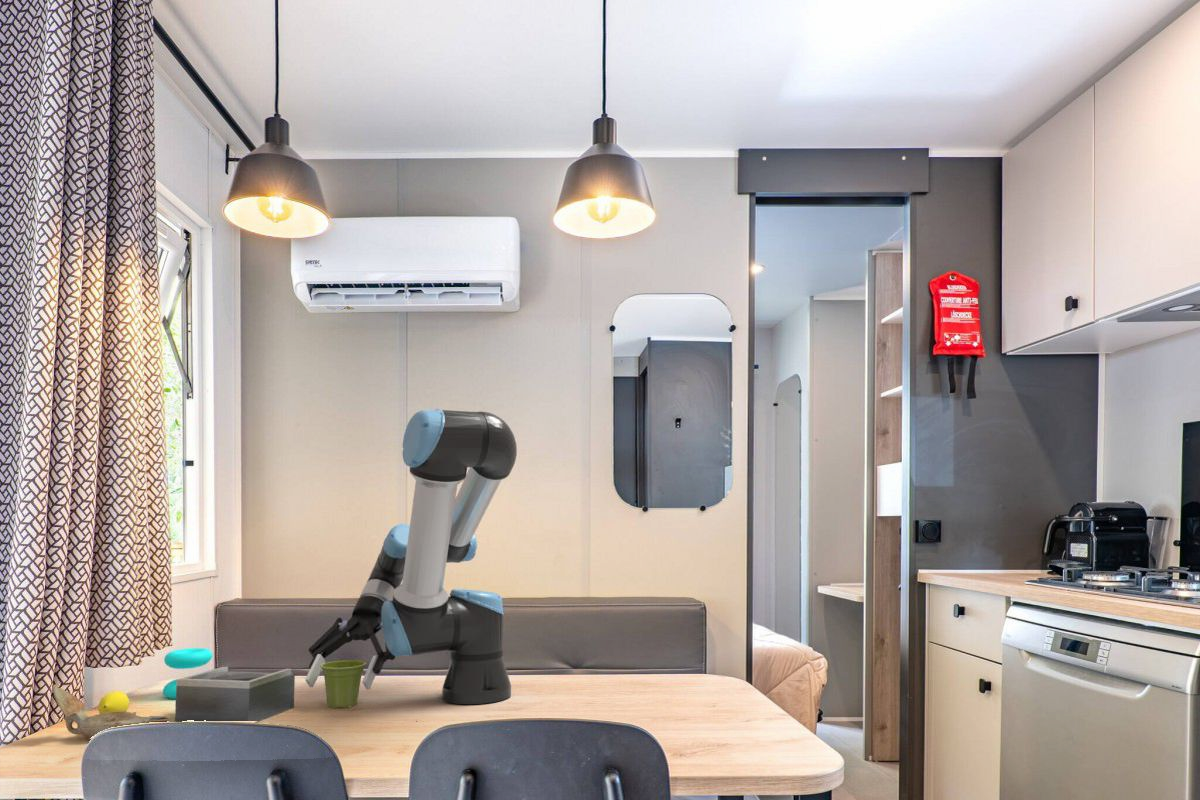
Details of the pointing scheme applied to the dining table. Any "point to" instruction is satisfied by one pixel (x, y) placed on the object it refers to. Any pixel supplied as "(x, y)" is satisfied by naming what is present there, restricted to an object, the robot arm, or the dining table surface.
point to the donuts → (184, 664)
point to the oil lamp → (95, 716)
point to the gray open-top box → (234, 695)
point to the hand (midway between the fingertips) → (337, 684)
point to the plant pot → (342, 682)
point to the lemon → (114, 702)
